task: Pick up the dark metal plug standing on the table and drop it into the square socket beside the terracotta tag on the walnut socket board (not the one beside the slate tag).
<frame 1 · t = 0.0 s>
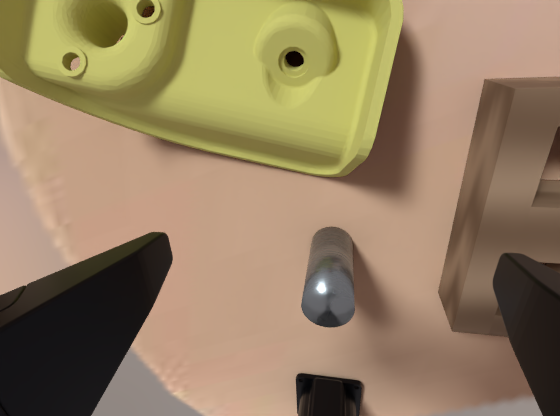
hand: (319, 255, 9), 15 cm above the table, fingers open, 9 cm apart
board: (530, 205, 22), on the table
plug: (331, 244, 26), on the table
plastic component: (227, 52, 21), on the table
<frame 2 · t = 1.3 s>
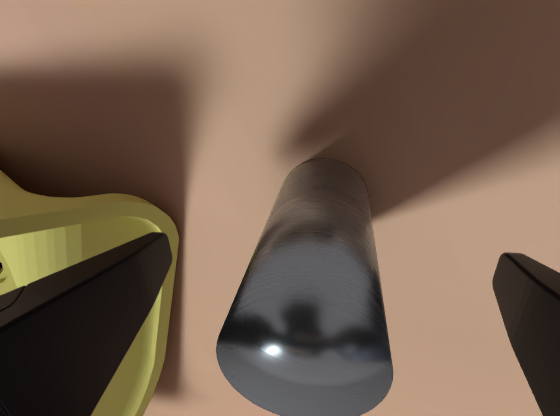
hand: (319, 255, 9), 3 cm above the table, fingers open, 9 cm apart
plug: (323, 200, 12), on the table
plastic component: (62, 303, 18), on the table
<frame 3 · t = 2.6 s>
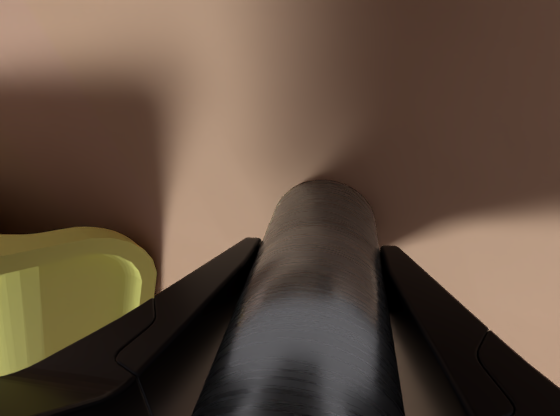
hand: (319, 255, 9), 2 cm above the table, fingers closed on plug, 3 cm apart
plug: (322, 227, 10), on the table, touching gripper
plastic component: (30, 331, 17), on the table
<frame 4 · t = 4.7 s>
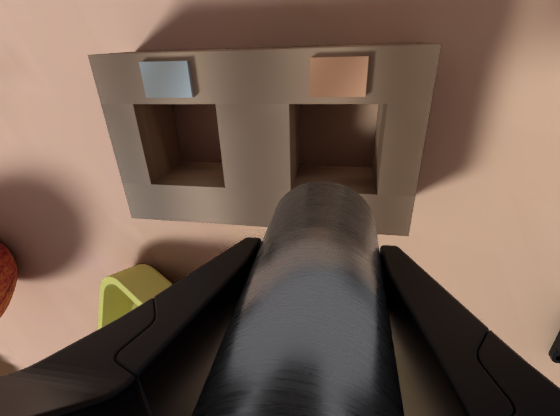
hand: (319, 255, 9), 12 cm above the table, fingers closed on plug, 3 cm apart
board: (270, 129, 20), on the table
apple: (0, 255, 30), on the table
plug: (322, 227, 10), point 11 cm above the table, touching gripper
plastic component: (174, 340, 32), on the table
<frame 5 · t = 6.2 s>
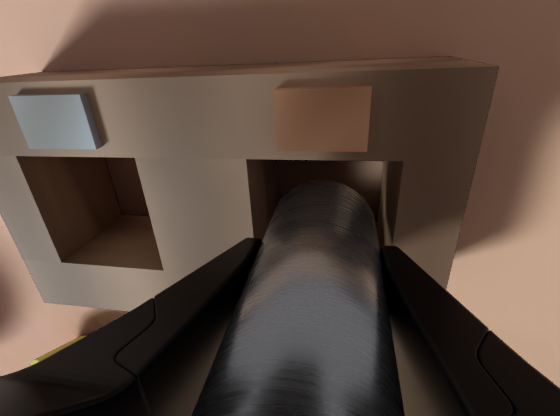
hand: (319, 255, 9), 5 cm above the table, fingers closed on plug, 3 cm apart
board: (235, 176, 14), on the table
plug: (322, 227, 10), point 4 cm above the table, touching gripper
when the fingers open (5 cm above the table, at t = 7.1 s): plug drops 3 cm, resting in board.
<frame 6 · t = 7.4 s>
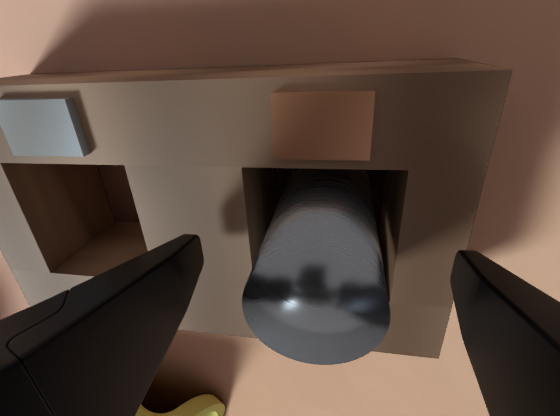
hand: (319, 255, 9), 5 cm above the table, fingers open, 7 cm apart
board: (231, 182, 14), on the table
plug: (328, 185, 13), resting in board
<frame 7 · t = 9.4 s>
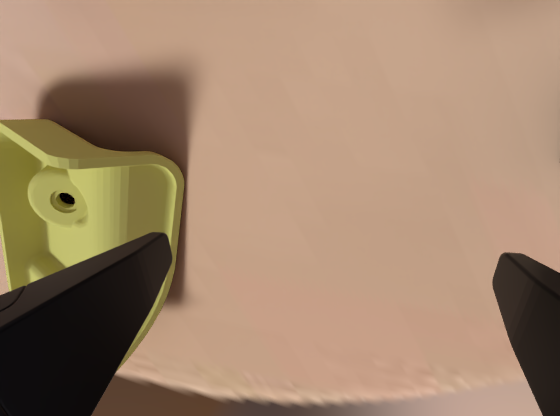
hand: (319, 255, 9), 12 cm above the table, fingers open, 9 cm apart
plastic component: (103, 238, 27), on the table
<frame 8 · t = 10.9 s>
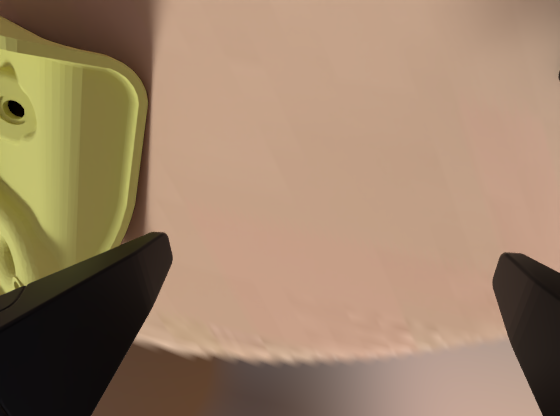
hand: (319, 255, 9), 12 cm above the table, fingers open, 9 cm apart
plastic component: (60, 166, 25), on the table
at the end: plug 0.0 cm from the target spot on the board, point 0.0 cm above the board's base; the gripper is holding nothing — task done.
